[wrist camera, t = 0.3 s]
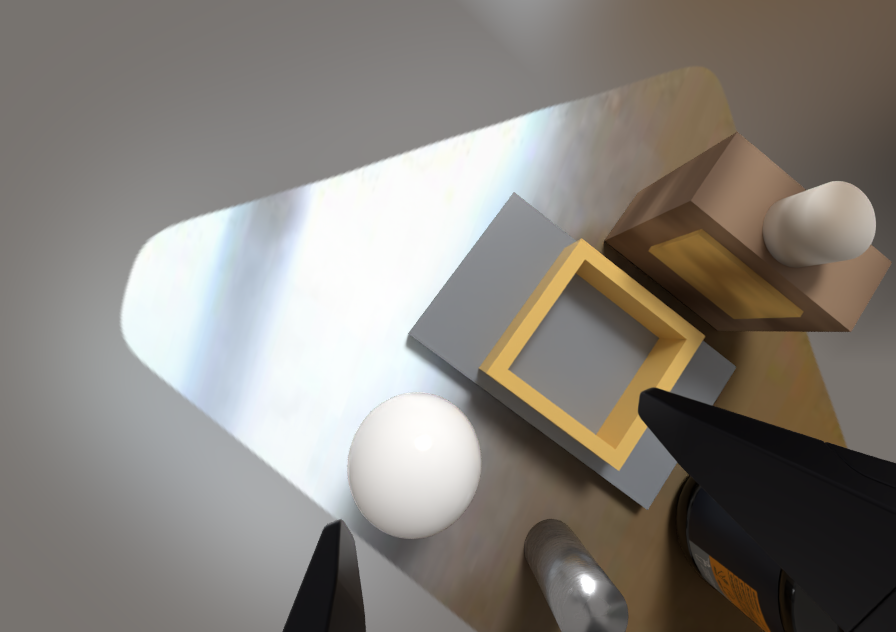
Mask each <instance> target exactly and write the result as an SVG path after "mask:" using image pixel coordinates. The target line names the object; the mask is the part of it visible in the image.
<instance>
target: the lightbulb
mask: <svg viewBox="0 0 896 632" xmlns="http://www.w3.org/2000/svg"><path fill="white" fill-rule="evenodd" d="M481 467H482V458H481V449H480V445H479V441H478V438H477V435H476V432H475V430H474V428H473V426H472V424H471V423H470V421H469V420H468V418H467V417H466V416H465V414H464V413H463V412H462V411H461V410H460V409H459V408H458V407H457V406H455V405H454V404H453V403H451V402H450V401H448V400H446V399H444V398H442V397H440V396H437V395H434V394H430V393H424V392H410V393H404V394H400V395H397V396H394V397H392V398H390V399H388V400H386V401H384V402H383V403H381V404H380V405H378V406H377V407H376V408H374V409H373V410H372V411H371V412H370V413H369V414H368V415H367V416H366V418H365V419H364V420H363V421H362V423H361V424H360V426H359V428H358V429H357V431H356V433H355V435H354V437H353V440H352V443H351V446H350V450H349V454H348V462H347V475H348V482H349V487H350V491H351V494H352V497H353V499H354V501H355V503H356V505H357V507H358V509H359V510H360V512H361V513H362V514H363V516H364V517H365V518H366V519H367V520H368V521H369V522H370V523H371V524H372V525H373V526H375V527H376V528H377V529H379V530H381V531H382V532H384V533H386V534H389V535H391V536H394V537H398V538H404V539H420V538H425V537H429V536H432V535H435V534H437V533H439V532H441V531H443V530H445V529H447V528H448V527H449V526H451V525H452V524H453V523H455V522H456V521H457V520H458V519H459V518H460V517H461V516H462V515H463V513H464V512H465V511H466V509H467V508H468V507H469V505H470V503H471V502H472V500H473V498H474V496H475V493H476V491H477V488H478V485H479V481H480V476H481Z"/></svg>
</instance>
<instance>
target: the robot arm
mask: <svg viewBox="0 0 896 632" xmlns="http://www.w3.org/2000/svg"><path fill="white" fill-rule="evenodd" d="M638 414H639V416H640V418H641V420H642V421H643V422H644V423H645V424H646V426H647V427H648V428H649V429H650V430H651V432H652V433H653V434H654V435H655V436H656V438H657V439H658V440H659V441H660V442H661V444H662V445H663V446H664V447H665V448H666V450H667V451H668V452H669V453H670V454H671V456H672V457H673V458H674V459H675V460H676V461H677V463H678V464H679V465H680V466H681V467H682V468H683V469H684V470H685V471H686V472H687V473H688V474H689V475H690V476H691V477H692V478H693V479H694V480H695V481H696V482H697V483H698V484H699V485H700V486H701V487H702V488H703V489H704V490H705V491H706V492H707V493H708V494H709V495H710V496H711V497H712V498H713V499H714V500H715V501H716V502H717V503H718V504H719V505H720V506H721V507H722V508H723V509H724V510H725V511H726V512H727V513H728V514H729V516H730V517H731V518H732V519H733V520H734V521H735V522H736V523H737V524H738V525H739V526H740V527H741V528H742V529H743V530H744V531H745V532H746V533H747V534H748V535H749V536H750V537H751V538H752V539H753V540H754V541H755V542H756V543H757V544H758V545H759V546H760V547H761V548H762V549H763V550H764V551H765V552H766V553H767V554H768V555H769V556H770V557H771V558H772V559H773V560H774V561H775V562H776V563H777V564H778V565H779V566H780V567H781V568H782V569H783V570H784V571H785V572H786V573H787V574H788V575H789V576H790V577H791V578H792V579H793V580H794V581H795V582H796V583H797V584H798V585H799V586H800V587H801V588H802V589H803V590H804V591H805V592H806V593H807V594H808V595H809V596H810V597H811V598H812V599H813V600H814V602H815V603H816V604H817V605H818V606H819V607H820V608H821V609H822V610H823V611H824V612H825V613H826V614H827V615H828V616H829V617H830V618H831V619H832V620H833V621H834V622H835V623H836V624H837V625H838V626H839V627H840V628H841V629H842V630H843V631H844V632H896V463H893V462H890V461H886V460H882V459H879V458H876V457H873V456H870V455H866V454H863V453H860V452H857V451H853V450H850V449H847V448H844V447H841V446H837V445H834V444H831V443H828V442H825V443H824V442H823V441H821V440H818V439H815V438H812V437H809V436H806V435H803V434H800V433H797V432H793V431H790V430H787V429H784V428H781V427H778V426H775V425H772V424H768V423H765V422H762V421H759V420H756V419H753V418H750V417H747V416H743V415H740V414H737V413H734V412H731V411H728V410H725V409H722V408H718V407H715V406H712V405H709V404H706V403H703V402H700V401H697V400H693V399H690V398H687V397H684V396H681V395H678V394H675V393H672V392H668V391H665V390H662V389H659V388H655V387H652V388H649V389H646V390H644V391H642V392H641V393H640V395H639V403H638ZM283 632H366V626H365V613H364V604H363V597H362V590H361V583H360V576H359V568H358V561H357V555H356V547H355V542H354V538H353V536H352V534H351V532H350V531H349V529H348V527H347V526H346V524H345V522H344V521H343V520H342V519H339V520H336V521H334V522H331V523H329V524H327V525H326V526H325V527H324V529H323V531H322V534H321V536H320V539H319V541H318V544H317V546H316V549H315V551H314V554H313V556H312V559H311V561H310V564H309V566H308V569H307V571H306V574H305V576H304V579H303V581H302V584H301V586H300V589H299V591H298V594H297V597H296V599H295V601H294V604H293V606H292V609H291V611H290V614H289V616H288V619H287V621H286V624H285V626H284V629H283Z"/></svg>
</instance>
